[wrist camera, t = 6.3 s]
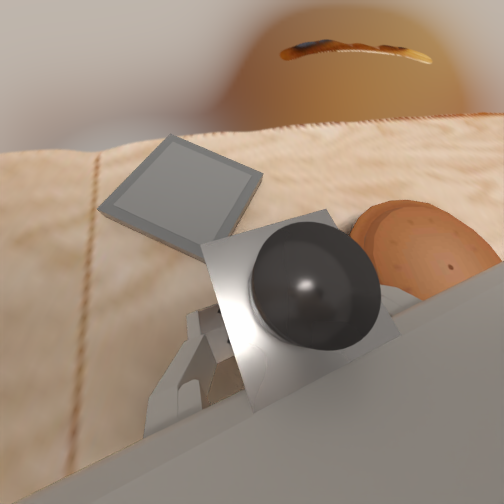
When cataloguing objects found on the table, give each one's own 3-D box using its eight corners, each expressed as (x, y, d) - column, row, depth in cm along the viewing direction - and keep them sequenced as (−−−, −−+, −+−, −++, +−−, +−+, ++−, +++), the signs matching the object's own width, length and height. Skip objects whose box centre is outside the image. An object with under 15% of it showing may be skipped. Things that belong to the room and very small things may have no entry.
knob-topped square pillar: (234, 354, 16) (266, 453, 3) (219, 306, 17) (192, 220, 4) (278, 334, 17) (456, 340, 4) (260, 291, 18) (347, 181, 5)
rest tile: (104, 216, 19) (96, 208, 18) (172, 142, 24) (170, 133, 23) (213, 267, 18) (212, 262, 17) (261, 181, 23) (263, 172, 22)
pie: (302, 300, 18) (328, 290, 14) (359, 197, 24) (390, 165, 20) (459, 408, 16) (550, 437, 12) (480, 266, 22) (545, 249, 18)
